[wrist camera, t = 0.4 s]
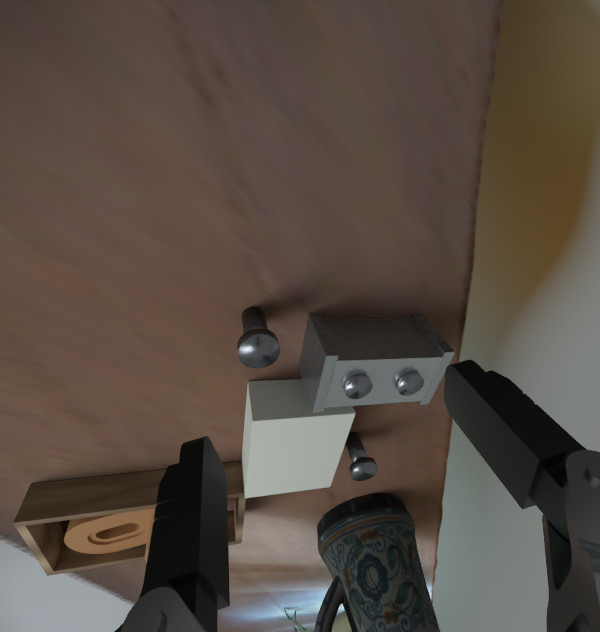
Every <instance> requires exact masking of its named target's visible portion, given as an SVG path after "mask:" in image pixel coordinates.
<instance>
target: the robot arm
mask: <svg viewBox="0 0 600 632" xmlns="http://www.w3.org/2000/svg"><path fill="white" fill-rule="evenodd" d="M444 402H445V405H446V408H447V410H448V412H449V414H450V415H451V417H452V418H453V419H454V420H455V422H456V423H457V424H458V425H459V427H460V428H461V430H462V431H463V432H464V434H465V435H466V436H467V438H468V439H469V440H470V441H471V443H472V444H473V445H474V447H475V448H476V449H477V451H478V452H479V453H480V454H481V456H482V457H483V458H484V460H485V461H486V462H487V464H488V465H489V466H490V467H491V469H492V470H493V472H494V473H495V474H496V475H497V477H498V478H499V479H500V481H501V482H502V483H503V485H504V486H505V487H506V488H507V490H508V491H509V493H510V494H511V495H512V496H513V498H514V499H515V500H516V502H517V503H518V504H519V506H520V507H521V508H522V509H525V508H527V507H531V506H534V505H537V507H538V508H539V509H540V510H541V512H542V513H543V517H542V518H543V519H542V522H543V533H544V543H545V553H546V564H547V574H548V586H549V602H548V608H547V632H600V452H597V451H592V450H587V449H585V448H584V447H583V446H582V445H580V444H579V443H578V442H577V441H576V440H575V439H574V438H573V437H572V436H570V435H569V434H568V433H567V432H566V431H565V430H564V429H563V428H562V427H560V425H558V424H557V423H556V422H555V421H554V420H553V419H552V418H551V417H550V416H549V415H548V414H546V413H545V412H544V411H543V410H542V409H541V408H540V407H539V406H538V405H535V404H534V402H533V401H532V400H531V399H530V398H529V397H528V396H527V395H526V394H523V391H522V390H520V389H519V388H518V387H517V386H516V385H515V384H514V383H513V382H512V381H511V380H510V379H508V378H506V377H504V376H502V375H500V374H498V373H496V372H494V371H492V370H491V371H488V372H485V371H484V370H483V369H482V368H481V367H480V366H479V365H478V364H477V363H475V362H474V361H472V360H466V361H463V362H459V363H456V364H452V365H449V366H447V368H446V374H445V388H444ZM156 503H157V506H156V508H155V514H154V522H153V527H152V533H151V540H150V546H149V552H148V559H147V565H146V571H145V578H144V584H143V588H142V591H141V594H140V597H139V599H138V601H137V602H136V603H135V605H134V606H133V607H132V609H131V610H130V612H129V613H128V615H127V617H126V619H125V621H124V623H123V624H122V625H121V626H120V627H119V628H118V629H117V630H116V631H115V632H217V610H219V609H221V608H224V607H227V606H230V600H229V559H228V517H227V481H226V474H225V470H224V466H223V464H222V462H221V460H220V458H219V456H218V454H217V452H216V450H215V448H214V447H213V445H212V443H211V441H210V439H209V438H208V437H207V436H206V437H202V438H199V439H195V440H192V441H189V442H185V443H183V444H182V446H181V451H180V460H179V463H178V464H174V465H171V466H168V468H167V470H166V472H165V474H164V476H163V478H162V480H161V482H160V484H159V489H158V495H157V501H156Z"/></svg>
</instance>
